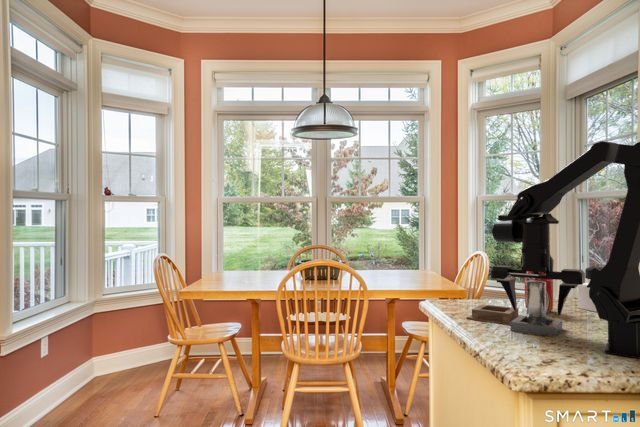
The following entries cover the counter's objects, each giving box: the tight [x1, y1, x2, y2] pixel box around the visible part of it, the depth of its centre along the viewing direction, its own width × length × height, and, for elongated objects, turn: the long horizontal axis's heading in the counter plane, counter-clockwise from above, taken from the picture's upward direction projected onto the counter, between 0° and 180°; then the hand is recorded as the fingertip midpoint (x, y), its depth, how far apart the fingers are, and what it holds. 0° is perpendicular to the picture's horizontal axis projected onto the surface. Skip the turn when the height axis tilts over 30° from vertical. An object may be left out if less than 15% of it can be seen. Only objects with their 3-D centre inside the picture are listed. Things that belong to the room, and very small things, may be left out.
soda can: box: [524, 271, 554, 314], centre depth 119 cm, size 7×7×12 cm
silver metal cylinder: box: [526, 280, 547, 325], centre depth 98 cm, size 4×4×11 cm
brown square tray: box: [466, 303, 521, 326], centre depth 110 cm, size 11×11×2 cm
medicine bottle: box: [577, 266, 601, 313], centre depth 121 cm, size 7×7×12 cm
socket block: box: [510, 314, 563, 338], centre depth 98 cm, size 9×9×2 cm
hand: (536, 312), depth 98 cm, fingers open, 9 cm apart
